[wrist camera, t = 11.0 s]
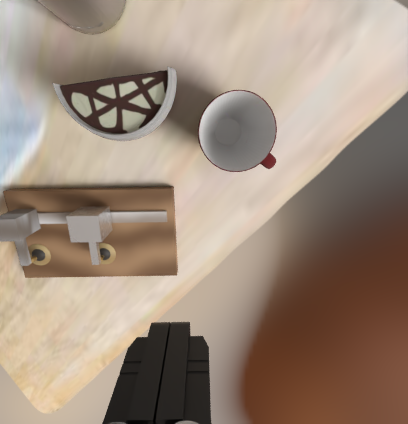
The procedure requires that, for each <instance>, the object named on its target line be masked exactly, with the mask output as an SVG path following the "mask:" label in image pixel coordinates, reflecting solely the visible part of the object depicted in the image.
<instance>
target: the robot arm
mask: <svg viewBox="0 0 408 424" xmlns="http://www.w3.org/2000/svg"><path fill="white" fill-rule="evenodd" d="M37 1H39V2H40V3H41V4H42V5H44V6H45V7H46V8H47V9H49V10H50V11H51V12H52V13H54V14H55V15H56V16H57V17H59V18H60V19H61V20H63V21H64V22H65V23H66V24H68V25H69V26H70V27H72V28H74V29H75V30H77V31H80V32H83V33H87V34H98V33H102V32H104V31H107V30H109V29H110V28H111V27H113V26H114V25H115V24H116V22H117V21H118V20H119V19H120V17H121V15H122V13H123V10H124V6H125V3H126V0H37ZM210 412H211V411H210V378H209V347H208V345H207V343H206V341H205V340H204V338H203V336H190V322H172V323H170V322H168V323H167V322H161V323H151V326H150V330H149V333H148V337H137V338H136V339H135V341H134V342H133V343H132V344H131V345H130V347H129V348H128V350H127V353H126V356H125V359H124V363H123V365H122V368H121V371H120V375H119V377H118V380H117V383H116V386H115V388H114V392H113V394H112V397H111V400H110V403H109V406H108V409H107V412H106V415H105V418H104V421H103V423H102V424H211V413H210Z"/></svg>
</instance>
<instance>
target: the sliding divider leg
mask: <svg viewBox="0 0 408 424" xmlns="http://www.w3.org/2000/svg"><path fill="white" fill-rule="evenodd" d="M66 219H67V224H68V229H69V235H70V240H71V242H89V248H90V254H91V260H92V265H99V264H100V263H101V261H102V260H103V259H104V256H103V255H100V249H99V243H98V242H102V241H103V240H104V239H105V238H106V237H107V236H108V234H109V233H110V232H111V231H112V223H111V215H110V208H109V206H101V207H80V208H78V209H77V210H75V211H74V212H72V213H70V214H69V215H67V216H66Z"/></svg>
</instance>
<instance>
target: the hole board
mask: <svg viewBox="0 0 408 424" xmlns="http://www.w3.org/2000/svg"><path fill="white" fill-rule="evenodd" d="M3 193H4V197H5V200H6V204H7V208H8V213H5V214H3V215H1V216H0V241H15V245H16V249H17V252H18V256H19V260H20V264H21V266H23V270H24V274H25V278H35V277H100V276H165V275H177V272H178V266H177V246H176V226H175V207H174V187H124V188H54V189H9V190H6V191H3ZM101 206H109V208H110V215H111V223H112V231H111V232H110V233H109V234H108V236H107V237H106V238H105V239H104V240H103V241H102V242H98V243H99V249H100V255H103V256H104V259H103V260H102V261H101V263H100V264H99V265H92V260H91V254H90V248H89V242H71V240H70V235H69V229H68V224H67V219H66V216H67V215H69V214H70V213H72V212H74V211H75V210H77V209H78V208H80V207H101Z"/></svg>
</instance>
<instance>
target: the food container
mask: <svg viewBox="0 0 408 424" xmlns="http://www.w3.org/2000/svg"><path fill="white" fill-rule="evenodd" d="M176 83H177V77H176V70H175V69H173V68H169V67H168V70H167V71H158V72H154V73H147V74H139V75H132V76H123V77H114V78H108V79H102V80H96V81H90V82H83V83H76V84H69V85H59V84H55V83H52V84H53V87H54V89H55V92H56V94H57V96H58V98H59V100H60V102H61V103H62V105H63V106H64V108H65V109H66V111H67V112H68V113H69V114H70V115H71V117H72V118H73V119H74V120H75V121H76V122H78V123H79V124H80V125H81V126H83V127H84V128H86V129H87V130H89V131H90V132H92V133H94V134H96V135H99V136H101V137H103V138H107V139H110V140H117V141H130V140H134V139H138V138H141V137H143V136H146V135H147V134H149V133H151V132H152V131H154V130H155V129H156V128H157V127H158V126H159V125H160V124H161V123H162V122H163V121H164V119H165V118H166V117H167V115H168V113H169V111H170V109H171V107H172V104H173V101H174V98H175V93H176Z"/></svg>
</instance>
